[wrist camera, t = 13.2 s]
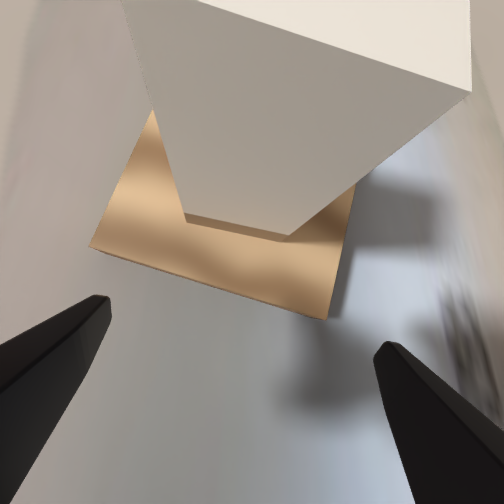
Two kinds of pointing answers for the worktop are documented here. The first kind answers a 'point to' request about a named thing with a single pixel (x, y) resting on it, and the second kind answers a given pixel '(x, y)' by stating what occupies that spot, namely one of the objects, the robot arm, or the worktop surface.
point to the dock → (219, 239)
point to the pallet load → (292, 97)
